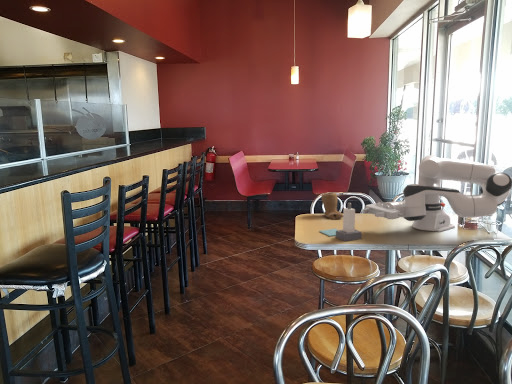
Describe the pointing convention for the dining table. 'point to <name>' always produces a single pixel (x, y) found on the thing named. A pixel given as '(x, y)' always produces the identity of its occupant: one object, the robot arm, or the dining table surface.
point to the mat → (329, 232)
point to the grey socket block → (348, 235)
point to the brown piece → (331, 205)
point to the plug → (348, 219)
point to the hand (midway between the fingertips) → (369, 213)
